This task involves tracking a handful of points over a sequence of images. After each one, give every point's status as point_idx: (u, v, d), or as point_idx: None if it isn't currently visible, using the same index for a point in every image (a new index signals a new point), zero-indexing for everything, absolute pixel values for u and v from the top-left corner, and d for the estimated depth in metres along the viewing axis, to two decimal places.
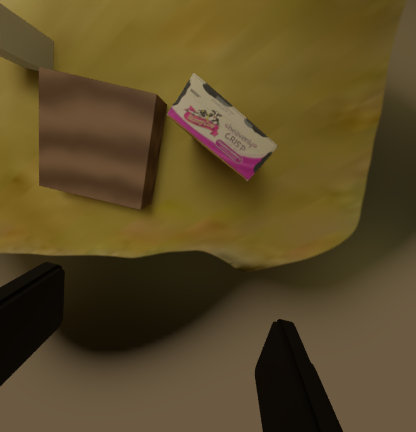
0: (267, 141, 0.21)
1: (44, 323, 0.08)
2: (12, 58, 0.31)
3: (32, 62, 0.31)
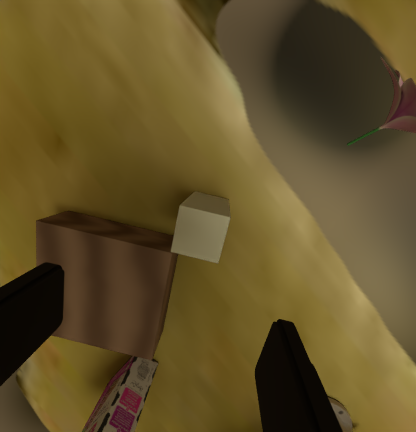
0: None
1: (44, 323, 0.08)
2: None
3: None
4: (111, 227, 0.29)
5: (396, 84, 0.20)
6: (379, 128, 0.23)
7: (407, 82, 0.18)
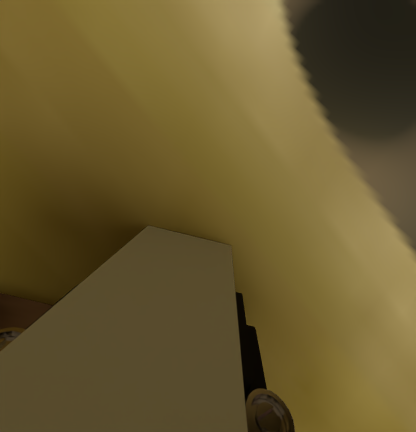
0: None
1: None
2: None
3: None
4: None
5: None
6: None
7: None
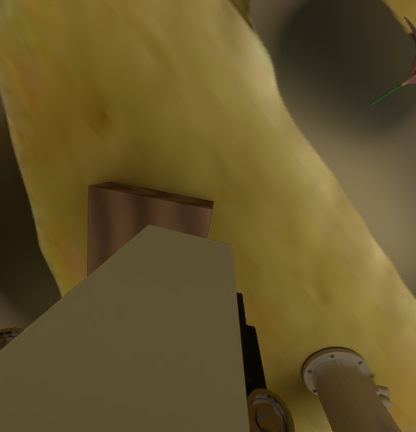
0: None
1: None
2: None
3: None
4: (152, 193, 0.32)
5: None
6: (402, 84, 0.25)
7: None
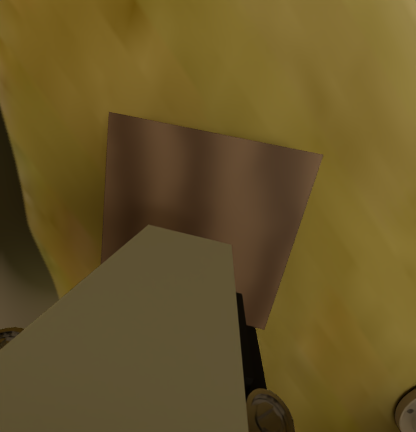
0: None
1: None
2: None
3: None
4: None
5: None
6: None
7: None
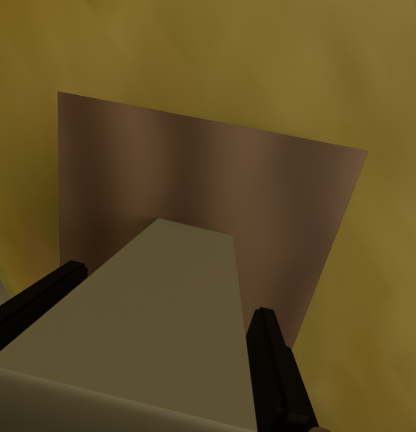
0: None
1: None
2: None
3: None
4: None
5: None
6: None
7: None
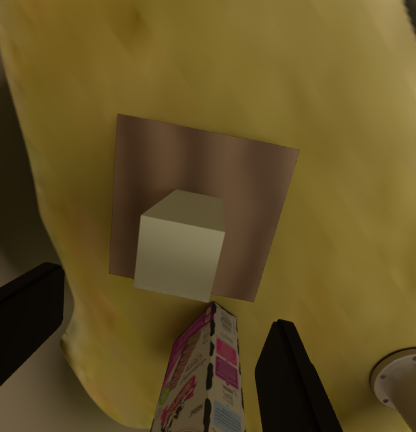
0: None
1: (44, 323, 0.08)
2: None
3: None
4: None
5: None
6: None
7: None
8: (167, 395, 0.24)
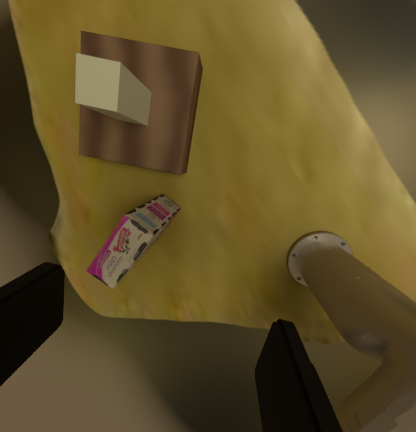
0: (114, 283, 0.29)
1: (44, 323, 0.08)
2: None
3: (105, 114, 0.29)
4: None
5: None
6: None
7: None
8: None
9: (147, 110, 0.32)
